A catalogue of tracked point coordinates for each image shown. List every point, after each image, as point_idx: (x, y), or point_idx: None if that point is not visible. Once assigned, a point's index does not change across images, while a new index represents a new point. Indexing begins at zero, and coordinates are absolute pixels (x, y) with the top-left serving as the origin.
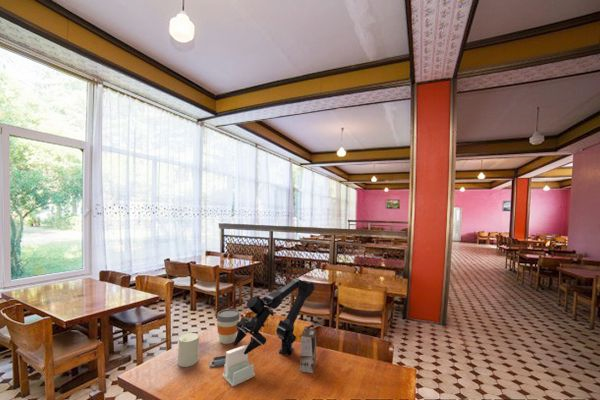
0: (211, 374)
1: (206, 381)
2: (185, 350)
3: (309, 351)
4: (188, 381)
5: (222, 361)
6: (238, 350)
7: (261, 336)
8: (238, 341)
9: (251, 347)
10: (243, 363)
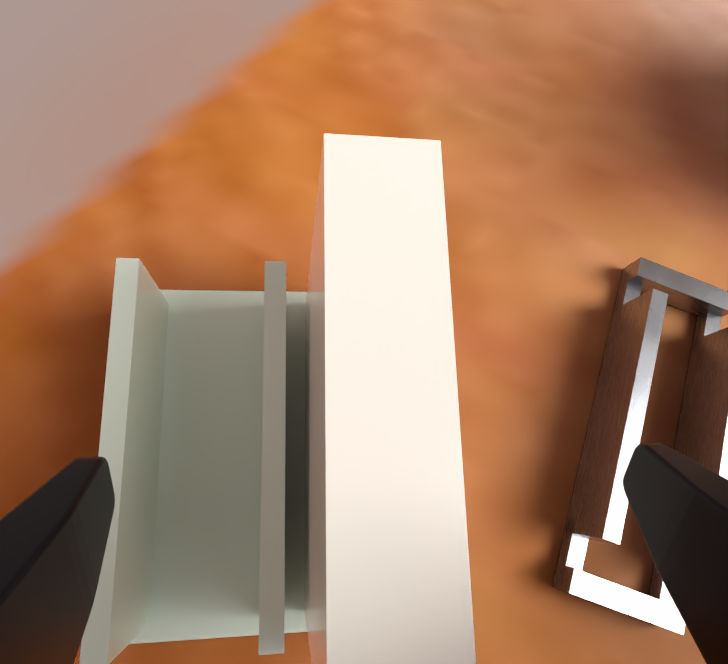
0: (499, 231)
1: None
2: None
3: None
4: (516, 43)
5: (623, 387)
6: (323, 406)
7: None
8: (712, 610)
9: None
10: (261, 522)
